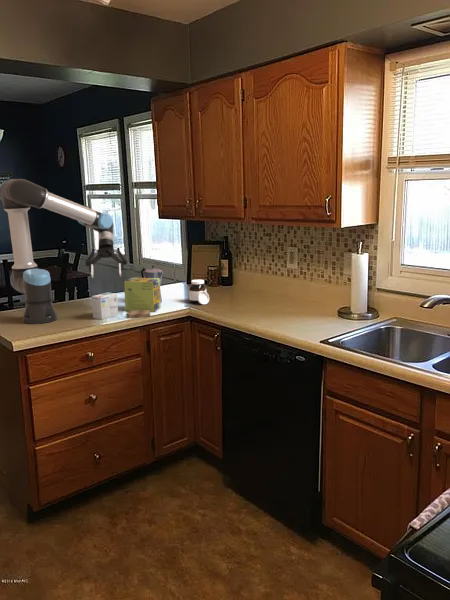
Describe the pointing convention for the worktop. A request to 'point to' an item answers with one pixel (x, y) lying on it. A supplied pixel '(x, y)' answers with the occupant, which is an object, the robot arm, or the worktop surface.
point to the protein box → (142, 294)
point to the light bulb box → (104, 305)
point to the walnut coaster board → (139, 313)
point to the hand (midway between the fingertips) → (106, 276)
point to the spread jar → (198, 292)
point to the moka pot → (153, 275)
